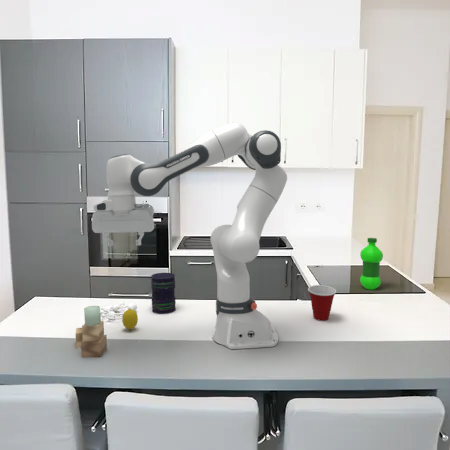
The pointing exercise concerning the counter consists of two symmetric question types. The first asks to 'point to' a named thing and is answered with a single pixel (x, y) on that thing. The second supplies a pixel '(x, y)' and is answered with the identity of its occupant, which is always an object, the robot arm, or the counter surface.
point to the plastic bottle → (371, 265)
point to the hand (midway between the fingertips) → (124, 245)
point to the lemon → (130, 319)
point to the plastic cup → (321, 301)
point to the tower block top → (93, 332)
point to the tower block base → (94, 347)
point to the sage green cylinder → (92, 315)
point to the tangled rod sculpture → (111, 315)
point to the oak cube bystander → (79, 337)
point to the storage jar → (163, 293)
